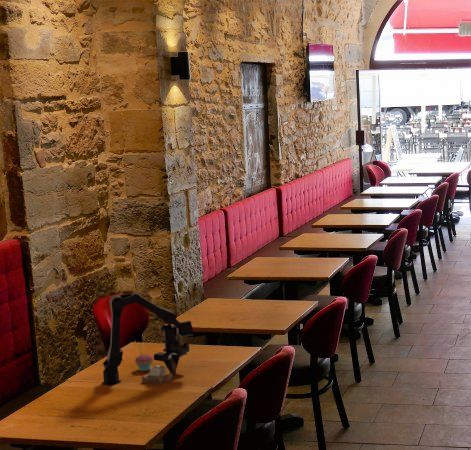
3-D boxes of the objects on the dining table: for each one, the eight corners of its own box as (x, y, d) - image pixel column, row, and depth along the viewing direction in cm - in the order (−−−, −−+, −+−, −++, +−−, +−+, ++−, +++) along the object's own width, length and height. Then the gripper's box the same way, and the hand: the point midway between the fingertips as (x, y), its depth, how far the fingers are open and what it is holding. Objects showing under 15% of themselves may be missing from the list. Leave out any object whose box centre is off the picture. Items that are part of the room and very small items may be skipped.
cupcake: (132, 371, 409) (130, 346, 407) (142, 366, 416) (140, 341, 415) (147, 373, 405) (145, 348, 403) (157, 367, 412) (155, 343, 411)
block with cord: (158, 382, 390) (157, 369, 389) (150, 380, 393) (149, 368, 392) (179, 373, 400) (178, 361, 400) (171, 372, 404) (170, 359, 403)
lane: (157, 385, 386) (157, 379, 386) (142, 382, 392) (141, 376, 391) (172, 378, 394) (172, 373, 394) (157, 375, 400) (157, 370, 399)
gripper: (169, 345, 386) (172, 378, 389) (197, 335, 401) (199, 367, 403) (151, 342, 393) (154, 375, 395) (178, 332, 408) (181, 364, 410)
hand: (172, 370), depth 401 cm, fingers closed on block with cord, 3 cm apart
